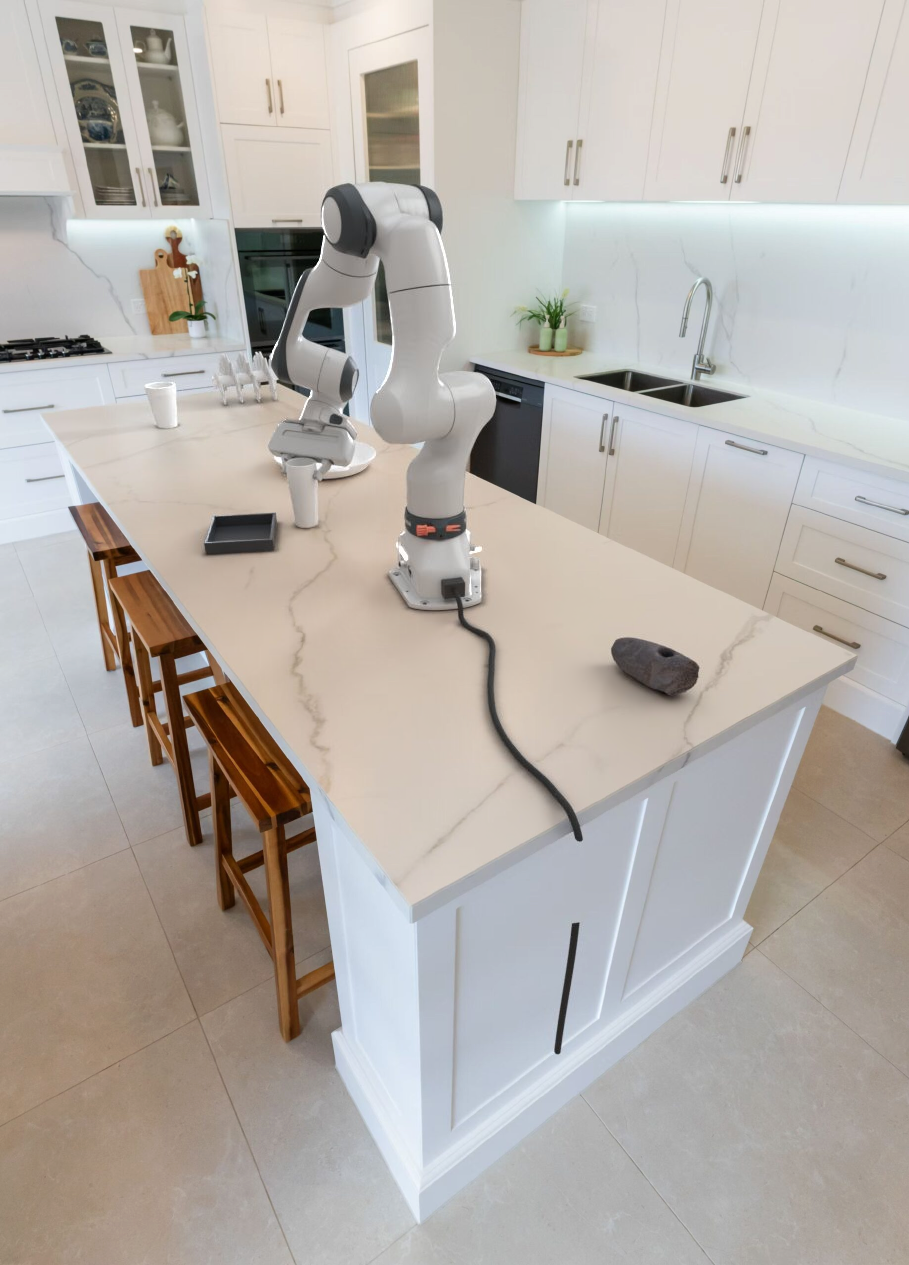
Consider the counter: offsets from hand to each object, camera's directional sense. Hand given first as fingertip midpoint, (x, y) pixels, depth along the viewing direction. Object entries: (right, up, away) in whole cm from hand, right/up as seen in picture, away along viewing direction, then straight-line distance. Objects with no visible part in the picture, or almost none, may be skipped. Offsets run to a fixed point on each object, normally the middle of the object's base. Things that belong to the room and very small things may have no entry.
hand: (300, 477), depth 165 cm
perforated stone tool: (+65, -43, -48) cm, 91 cm away
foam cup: (-60, +33, +78) cm, 104 cm away
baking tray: (-13, -14, -1) cm, 19 cm away
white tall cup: (0, -10, +7) cm, 12 cm away
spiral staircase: (-41, +50, +106) cm, 125 cm away
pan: (-2, +12, +43) cm, 44 cm away
